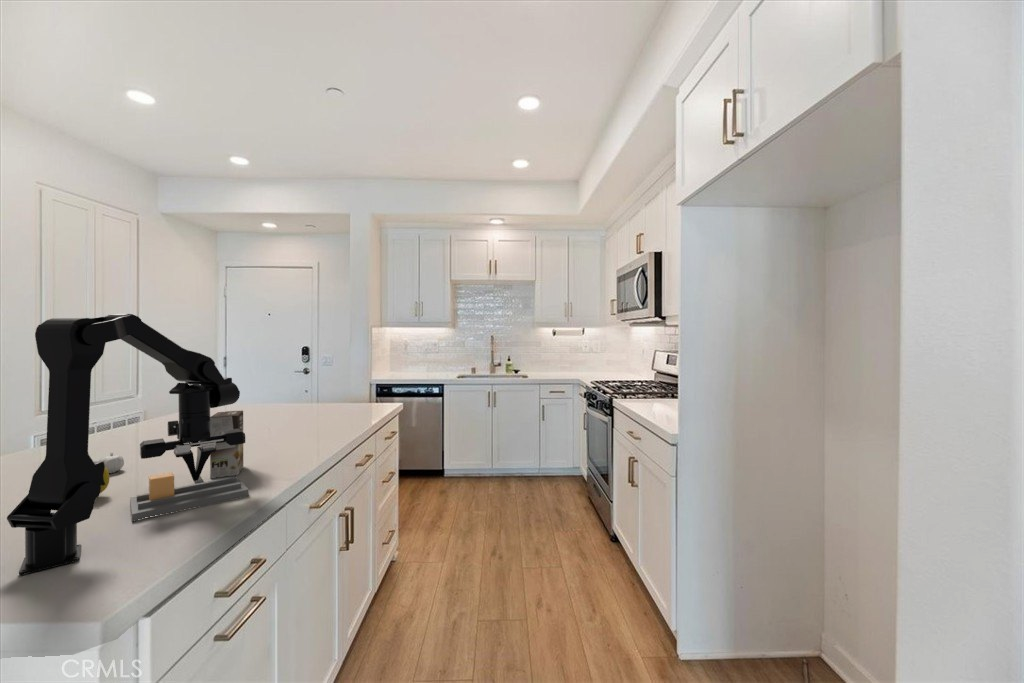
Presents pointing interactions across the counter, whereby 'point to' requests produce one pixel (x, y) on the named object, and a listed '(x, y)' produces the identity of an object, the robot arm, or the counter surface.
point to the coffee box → (226, 445)
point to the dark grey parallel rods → (199, 480)
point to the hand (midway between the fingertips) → (195, 480)
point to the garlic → (113, 462)
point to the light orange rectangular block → (161, 485)
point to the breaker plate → (188, 497)
